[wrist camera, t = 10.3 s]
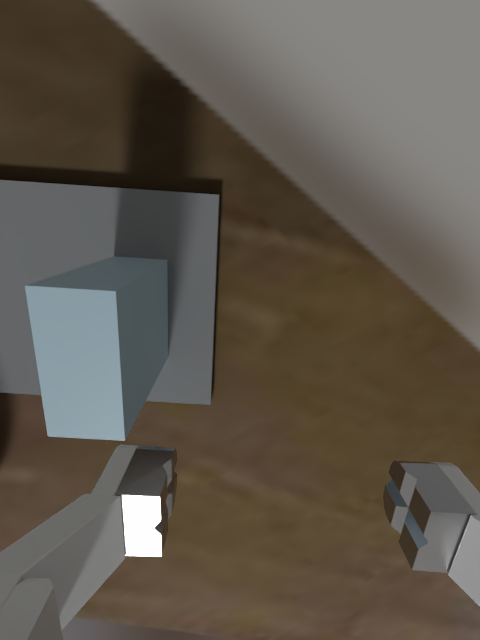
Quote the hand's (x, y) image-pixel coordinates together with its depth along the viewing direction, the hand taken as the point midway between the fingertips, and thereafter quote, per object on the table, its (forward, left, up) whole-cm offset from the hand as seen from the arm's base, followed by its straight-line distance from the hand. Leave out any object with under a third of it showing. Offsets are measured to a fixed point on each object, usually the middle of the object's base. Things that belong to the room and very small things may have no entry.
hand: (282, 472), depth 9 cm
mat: (+12, 0, -15) cm, 19 cm away
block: (+8, 0, -14) cm, 16 cm away
